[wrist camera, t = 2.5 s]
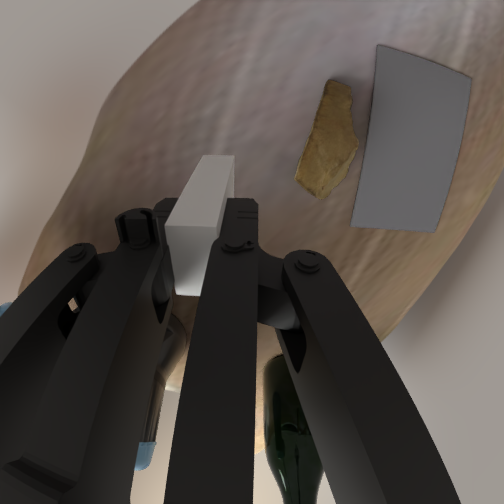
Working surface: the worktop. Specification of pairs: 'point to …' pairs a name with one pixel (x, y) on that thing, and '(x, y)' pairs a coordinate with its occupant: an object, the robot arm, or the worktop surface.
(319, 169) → the yellow wedge
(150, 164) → the worktop surface
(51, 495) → the robot arm
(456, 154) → the mat
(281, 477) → the dark green wine bottle
